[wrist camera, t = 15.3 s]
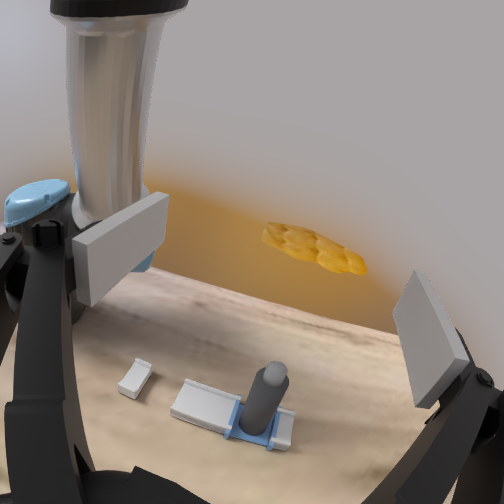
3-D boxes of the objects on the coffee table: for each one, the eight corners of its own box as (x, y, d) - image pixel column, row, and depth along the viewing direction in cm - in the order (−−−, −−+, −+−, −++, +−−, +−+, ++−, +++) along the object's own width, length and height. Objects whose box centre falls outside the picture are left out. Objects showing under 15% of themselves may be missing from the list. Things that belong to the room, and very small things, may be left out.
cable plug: (235, 431, 37) (256, 377, 31) (242, 410, 40) (262, 352, 34) (264, 438, 36) (292, 386, 30) (268, 417, 40) (295, 361, 34)
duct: (116, 394, 37) (115, 386, 36) (138, 363, 43) (138, 354, 43) (285, 454, 35) (290, 448, 34) (292, 415, 41) (296, 408, 40)
